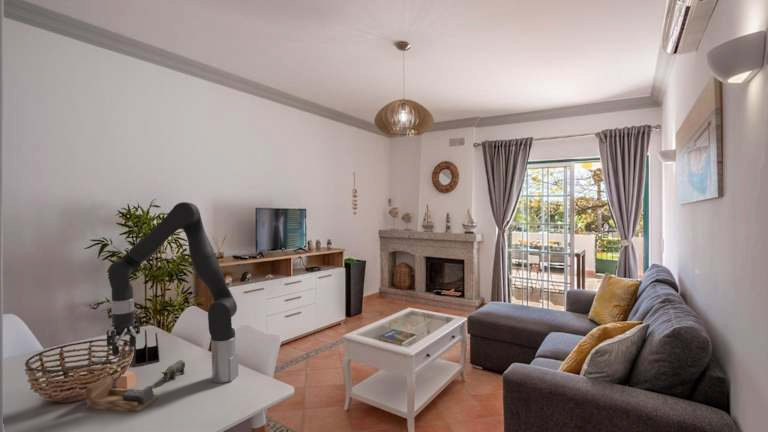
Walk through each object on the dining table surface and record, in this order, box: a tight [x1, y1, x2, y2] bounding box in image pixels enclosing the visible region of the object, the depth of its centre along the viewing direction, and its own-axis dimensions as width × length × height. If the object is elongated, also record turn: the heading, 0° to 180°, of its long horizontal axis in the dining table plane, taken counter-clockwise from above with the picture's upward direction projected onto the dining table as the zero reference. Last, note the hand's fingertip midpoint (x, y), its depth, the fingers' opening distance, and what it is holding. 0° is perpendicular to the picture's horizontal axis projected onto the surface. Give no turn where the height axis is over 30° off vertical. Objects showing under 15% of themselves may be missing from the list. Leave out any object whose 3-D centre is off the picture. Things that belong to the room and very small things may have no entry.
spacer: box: [116, 370, 137, 389], centre depth 158 cm, size 4×4×6 cm
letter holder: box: [133, 329, 161, 367], centre depth 186 cm, size 10×20×14 cm, turn 32°
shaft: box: [123, 385, 154, 404], centre depth 145 cm, size 8×4×4 cm, turn 83°
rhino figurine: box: [160, 359, 186, 384], centre depth 165 cm, size 4×14×6 cm, turn 169°
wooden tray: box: [85, 376, 157, 413], centre depth 145 cm, size 20×9×8 cm, turn 83°
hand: (124, 350), depth 157 cm, fingers open, 8 cm apart
